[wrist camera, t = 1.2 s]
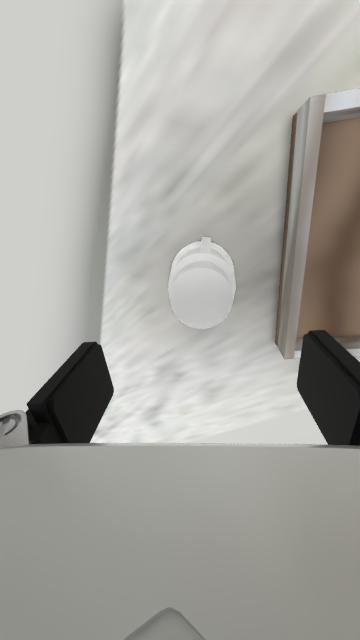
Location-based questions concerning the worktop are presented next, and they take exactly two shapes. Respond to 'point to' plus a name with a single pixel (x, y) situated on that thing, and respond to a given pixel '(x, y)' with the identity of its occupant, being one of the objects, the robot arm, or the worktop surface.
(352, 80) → the worktop surface
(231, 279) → the downlight
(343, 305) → the silver picture frame
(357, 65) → the worktop surface
